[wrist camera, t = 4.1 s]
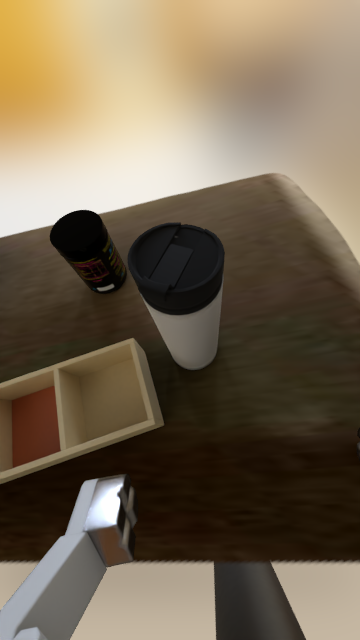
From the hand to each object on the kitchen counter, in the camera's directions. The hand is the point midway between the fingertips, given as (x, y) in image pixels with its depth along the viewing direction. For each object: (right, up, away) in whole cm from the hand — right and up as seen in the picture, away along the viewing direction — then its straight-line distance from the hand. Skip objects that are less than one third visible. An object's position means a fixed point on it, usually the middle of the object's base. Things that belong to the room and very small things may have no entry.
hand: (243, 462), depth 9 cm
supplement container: (-14, +12, +31) cm, 36 cm away
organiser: (-19, -8, +22) cm, 30 cm away
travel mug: (0, +1, +24) cm, 25 cm away
